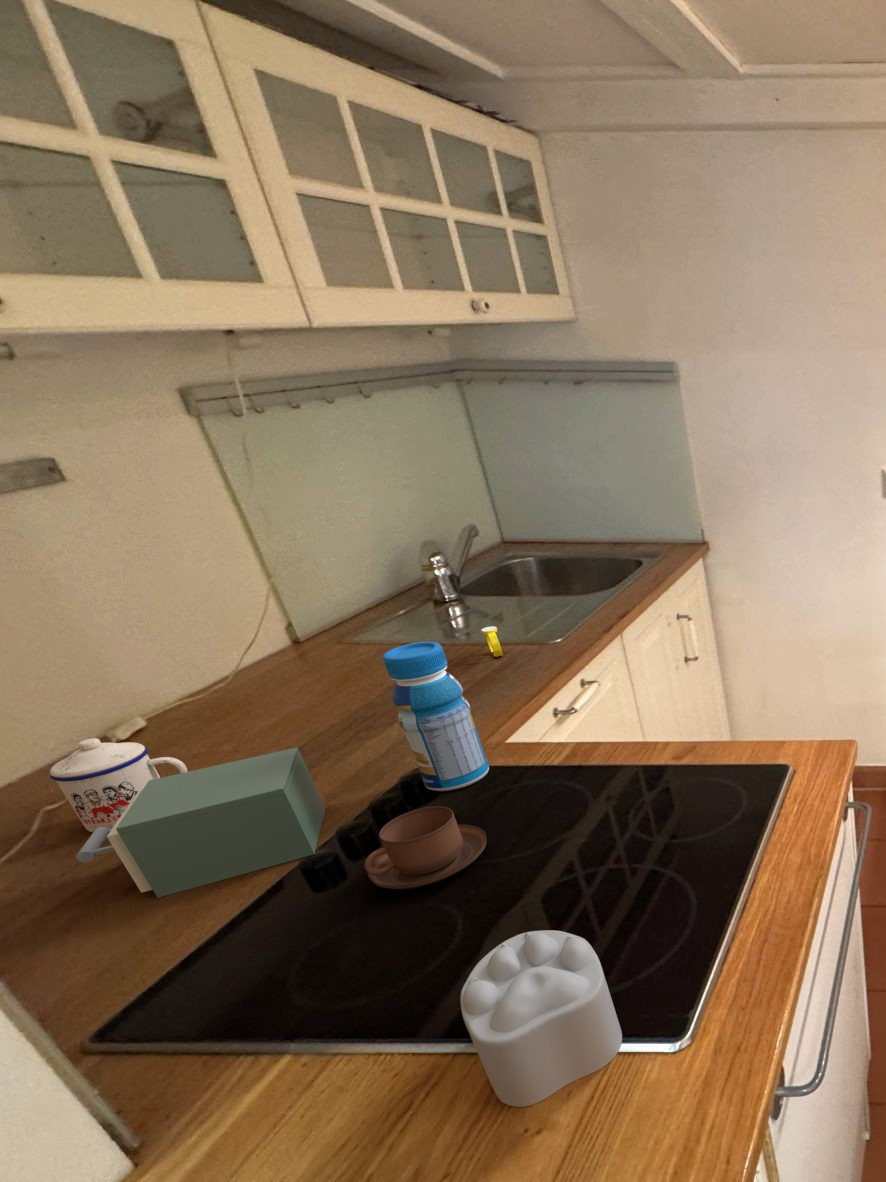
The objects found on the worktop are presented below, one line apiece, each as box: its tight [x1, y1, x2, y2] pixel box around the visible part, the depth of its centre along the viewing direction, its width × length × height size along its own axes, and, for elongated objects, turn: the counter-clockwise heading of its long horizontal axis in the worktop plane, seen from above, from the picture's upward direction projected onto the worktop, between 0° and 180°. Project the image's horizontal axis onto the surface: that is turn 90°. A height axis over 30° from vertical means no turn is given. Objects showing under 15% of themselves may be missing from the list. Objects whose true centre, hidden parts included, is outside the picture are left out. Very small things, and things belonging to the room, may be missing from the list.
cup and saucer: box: [364, 805, 487, 890], centre depth 90 cm, size 12×12×6 cm
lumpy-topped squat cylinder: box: [459, 929, 623, 1108], centre depth 66 cm, size 10×13×9 cm
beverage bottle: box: [382, 641, 490, 792], centre depth 107 cm, size 8×8×20 cm
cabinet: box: [116, 747, 327, 899], centre depth 94 cm, size 15×13×10 cm
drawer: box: [75, 791, 153, 894], centre depth 93 cm, size 18×11×8 cm, turn 122°
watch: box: [480, 625, 503, 657], centre depth 155 cm, size 6×3×6 cm, turn 40°
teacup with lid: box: [49, 737, 189, 833], centre depth 103 cm, size 12×9×12 cm
